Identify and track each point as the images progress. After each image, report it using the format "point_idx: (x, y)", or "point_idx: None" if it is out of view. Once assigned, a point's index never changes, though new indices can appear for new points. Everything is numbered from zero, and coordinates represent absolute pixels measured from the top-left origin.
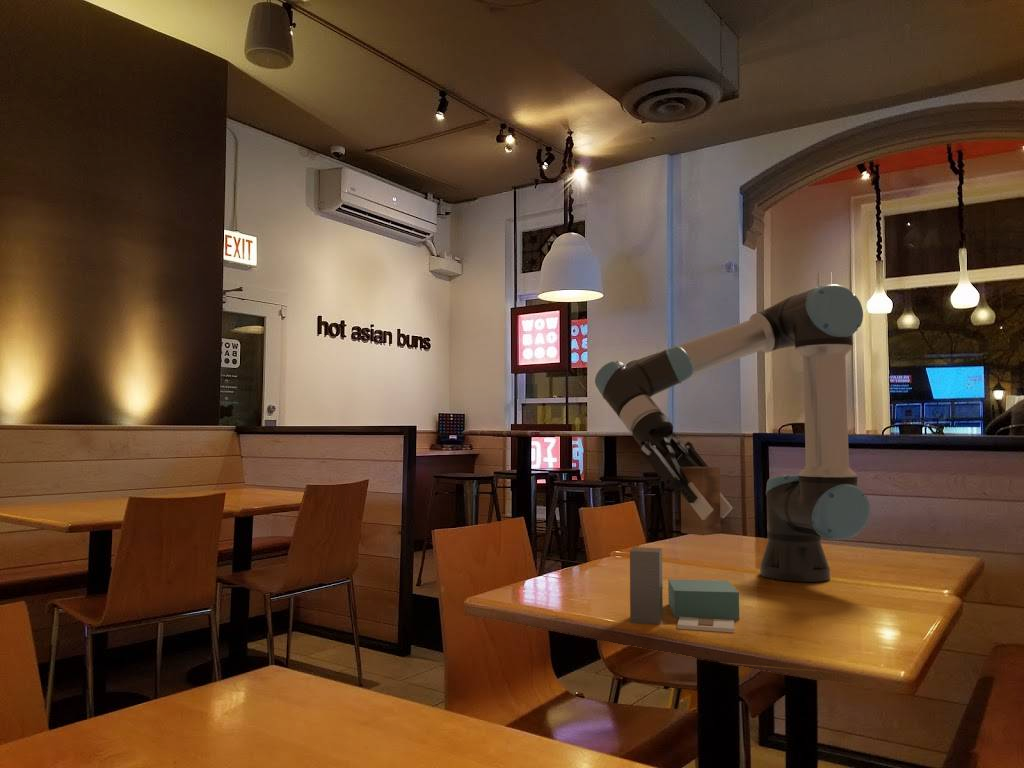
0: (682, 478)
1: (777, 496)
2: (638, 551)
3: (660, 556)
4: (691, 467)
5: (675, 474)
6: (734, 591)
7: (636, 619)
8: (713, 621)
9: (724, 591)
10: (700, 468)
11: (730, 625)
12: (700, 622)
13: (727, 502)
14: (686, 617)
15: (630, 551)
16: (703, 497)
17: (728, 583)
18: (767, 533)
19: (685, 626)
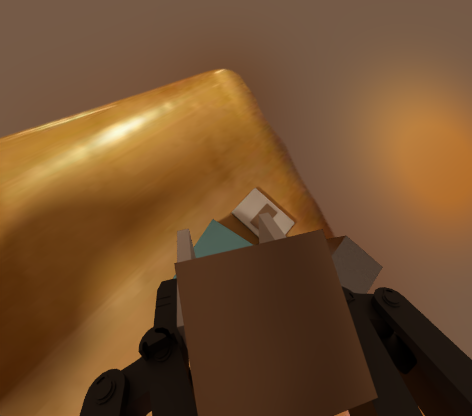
0: (357, 305)
1: None
2: (371, 258)
3: (331, 249)
4: (344, 310)
5: (401, 320)
6: (213, 225)
7: None
8: (256, 214)
9: (225, 230)
10: (324, 244)
11: (249, 198)
12: (271, 215)
13: (182, 242)
14: None
15: (381, 266)
16: (276, 239)
17: None
18: None
19: (288, 217)
